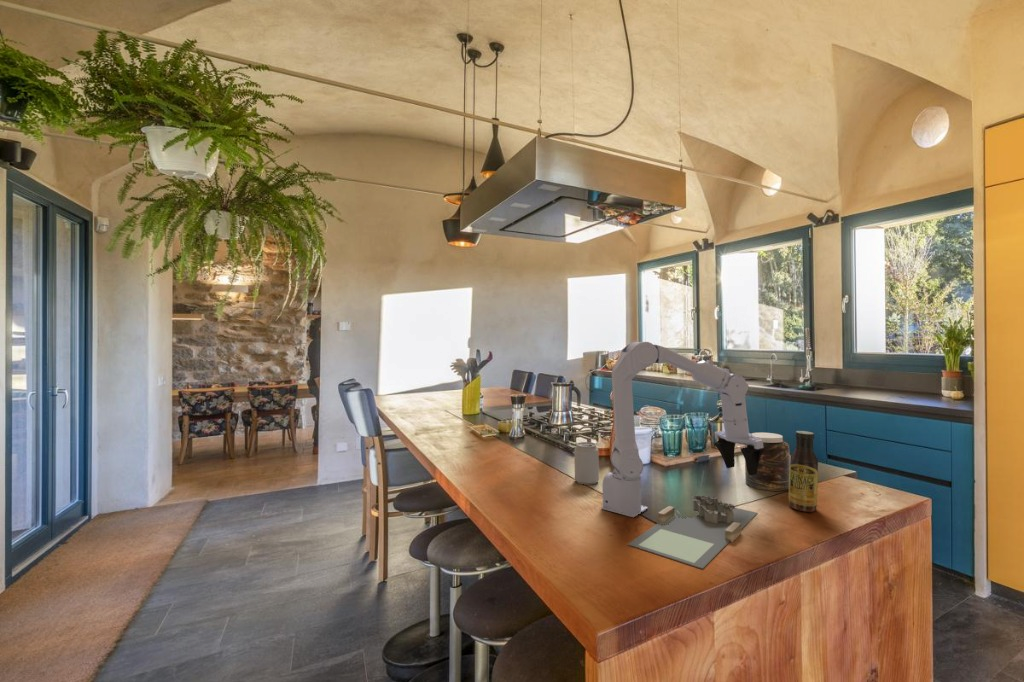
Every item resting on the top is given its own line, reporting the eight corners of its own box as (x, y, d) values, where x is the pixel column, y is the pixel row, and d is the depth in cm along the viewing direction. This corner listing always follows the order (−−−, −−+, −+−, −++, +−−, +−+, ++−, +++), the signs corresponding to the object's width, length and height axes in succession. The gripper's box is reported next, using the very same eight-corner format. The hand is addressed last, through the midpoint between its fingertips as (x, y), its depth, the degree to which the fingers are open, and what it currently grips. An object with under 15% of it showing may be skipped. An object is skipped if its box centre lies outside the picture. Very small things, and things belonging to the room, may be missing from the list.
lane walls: (658, 521, 111) (658, 512, 111) (668, 514, 115) (668, 505, 115) (732, 542, 99) (732, 532, 99) (741, 533, 104) (740, 523, 104)
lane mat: (627, 544, 99) (627, 543, 99) (693, 499, 126) (693, 498, 126) (702, 569, 88) (702, 568, 88) (757, 513, 115) (757, 512, 115)
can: (601, 485, 139) (600, 446, 139) (576, 485, 139) (575, 446, 139) (596, 478, 146) (596, 440, 146) (573, 478, 146) (572, 441, 146)
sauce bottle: (786, 509, 118) (785, 432, 118) (791, 502, 122) (790, 428, 122) (816, 515, 113) (815, 435, 113) (820, 508, 118) (819, 431, 118)
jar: (748, 476, 145) (748, 429, 145) (791, 483, 138) (791, 433, 138) (742, 486, 136) (741, 436, 135) (788, 494, 129) (787, 441, 129)
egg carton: (737, 524, 108) (737, 507, 108) (705, 524, 109) (705, 507, 109) (718, 507, 119) (718, 491, 119) (689, 507, 119) (689, 491, 119)
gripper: (770, 420, 113) (776, 474, 113) (727, 413, 127) (732, 461, 127) (747, 425, 111) (754, 480, 111) (706, 417, 125) (712, 466, 125)
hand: (741, 470), depth 119 cm, fingers open, 7 cm apart
